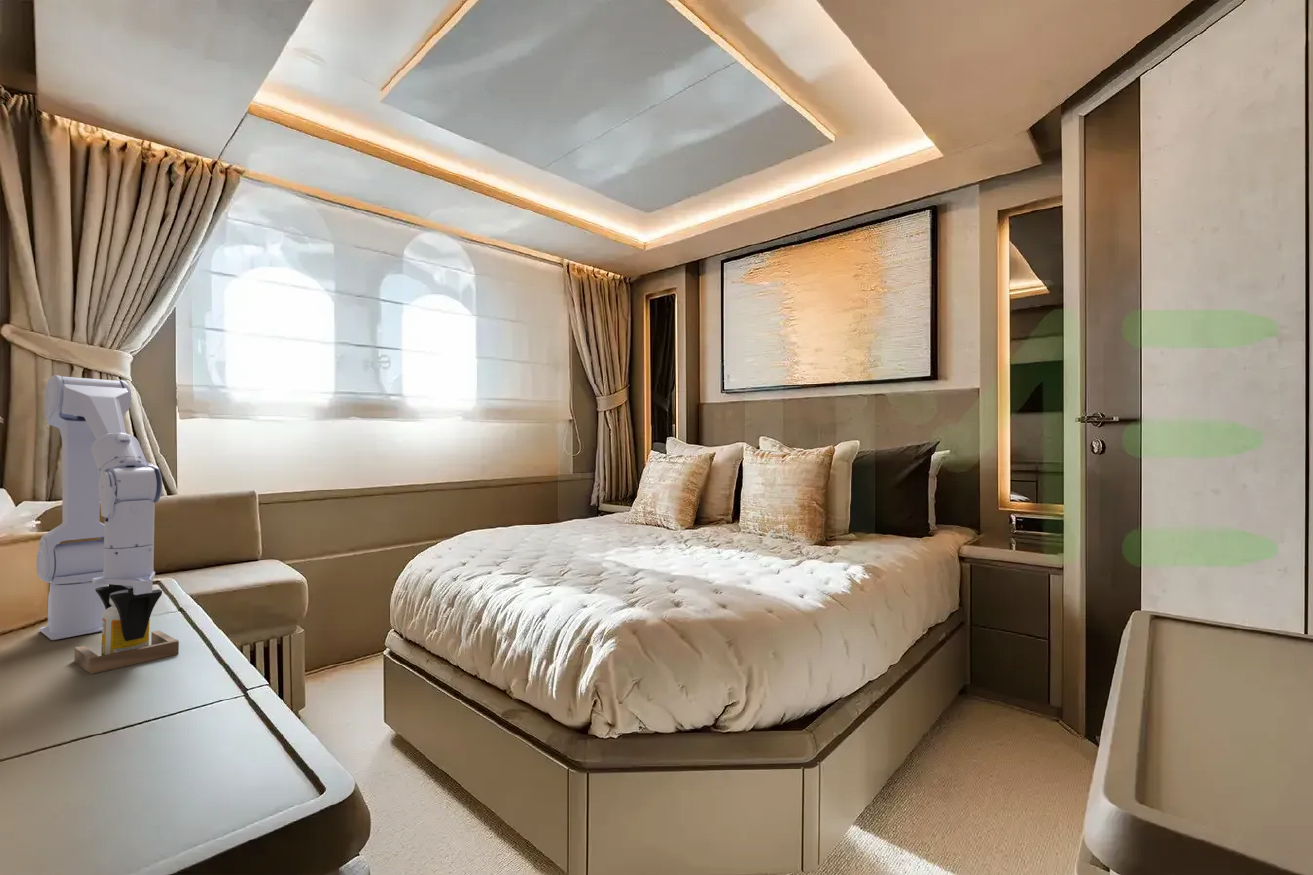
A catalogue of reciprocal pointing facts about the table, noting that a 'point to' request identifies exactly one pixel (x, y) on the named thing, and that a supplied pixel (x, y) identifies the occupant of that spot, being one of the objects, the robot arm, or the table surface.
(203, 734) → the table surface
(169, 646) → the bay
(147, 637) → the supplement bottle
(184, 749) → the table surface
